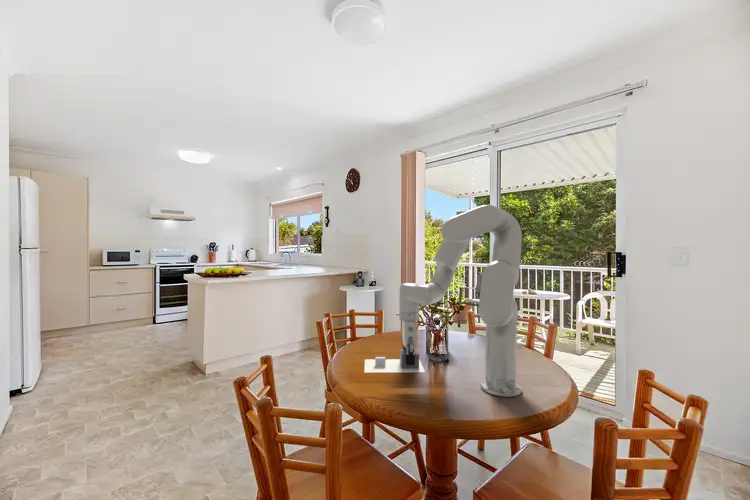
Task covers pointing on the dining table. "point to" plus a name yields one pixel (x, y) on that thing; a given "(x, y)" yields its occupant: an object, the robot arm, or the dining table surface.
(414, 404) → the dining table surface
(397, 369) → the hub board
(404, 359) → the dark grey box
